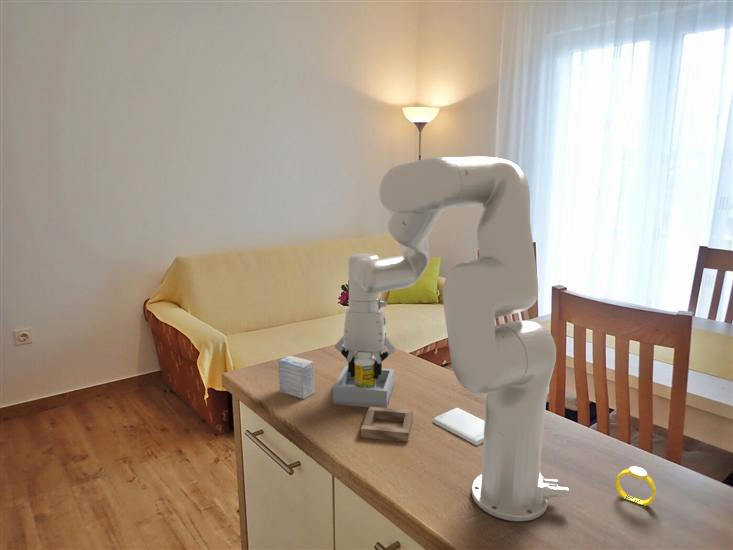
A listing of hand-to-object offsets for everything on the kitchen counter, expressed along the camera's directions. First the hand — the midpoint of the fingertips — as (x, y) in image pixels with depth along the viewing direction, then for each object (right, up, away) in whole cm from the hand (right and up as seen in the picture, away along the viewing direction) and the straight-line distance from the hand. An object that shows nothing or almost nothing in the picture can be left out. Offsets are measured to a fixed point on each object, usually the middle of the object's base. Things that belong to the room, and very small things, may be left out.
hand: (365, 375), depth 127 cm
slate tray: (0, -5, +1) cm, 5 cm away
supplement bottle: (0, -3, +1) cm, 3 cm away
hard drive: (+22, -9, -14) cm, 28 cm away
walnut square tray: (+5, -9, -15) cm, 18 cm away
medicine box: (-17, -5, +2) cm, 18 cm away
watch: (+46, -14, -39) cm, 62 cm away
